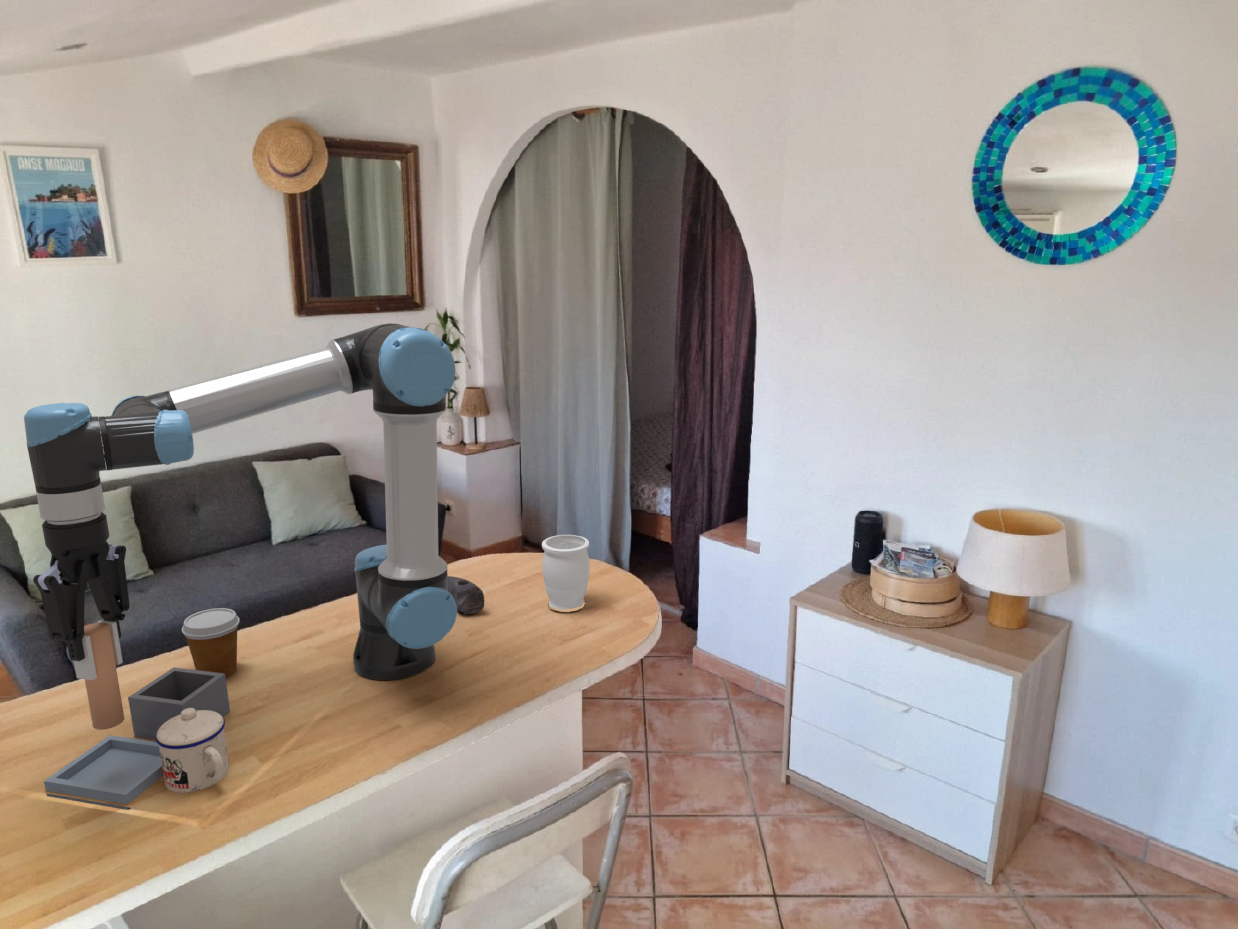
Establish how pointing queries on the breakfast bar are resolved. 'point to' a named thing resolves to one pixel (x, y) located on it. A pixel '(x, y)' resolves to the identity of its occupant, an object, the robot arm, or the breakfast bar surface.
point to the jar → (565, 570)
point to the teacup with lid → (193, 750)
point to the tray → (109, 772)
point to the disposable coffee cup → (213, 640)
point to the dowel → (103, 680)
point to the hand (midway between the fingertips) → (100, 669)
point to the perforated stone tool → (466, 595)
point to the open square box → (176, 698)
